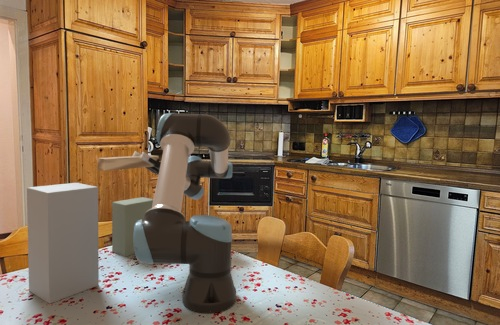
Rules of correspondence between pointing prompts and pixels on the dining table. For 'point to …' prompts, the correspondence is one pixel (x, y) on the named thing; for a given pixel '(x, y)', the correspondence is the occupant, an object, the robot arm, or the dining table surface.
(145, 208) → the sage green block
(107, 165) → the tan wooden bar
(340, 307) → the dining table surface
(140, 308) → the dining table surface
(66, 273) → the stand
